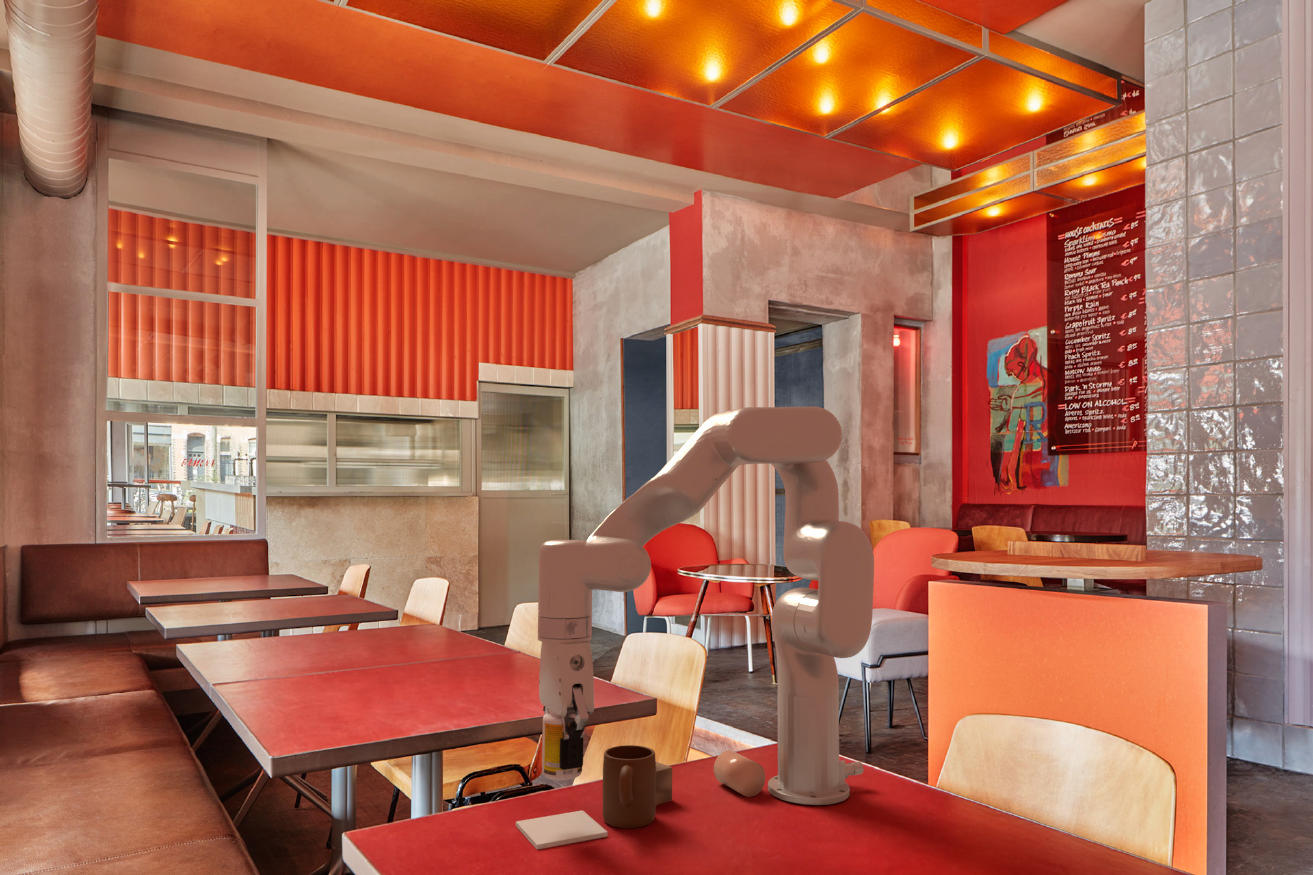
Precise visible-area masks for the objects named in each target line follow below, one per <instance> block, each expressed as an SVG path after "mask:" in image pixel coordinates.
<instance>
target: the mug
mask: <svg viewBox="0 0 1313 875" xmlns="http://www.w3.org/2000/svg"><path fill="white" fill-rule="evenodd" d="M656 762H657V761H656V753H655V751H654V749H653V748H650V747H647V746H642V745H633V744H630V745H629V744H627V745H625V744H624V745H617V746H613V747H609V748H607V749H605V751H604V753H603V761H602V818H603V820H604V821H605V823H606V824H607V825H609V826H611V827H614V828H615V827H616V828H618V829H637V828H643V827H646V826H648V825H651V823H653V822H654V820H655V818H656V806H657V805H656Z"/></svg>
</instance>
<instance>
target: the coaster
mask: <svg viewBox="0 0 1313 875" xmlns="http://www.w3.org/2000/svg"><path fill="white" fill-rule="evenodd" d="M515 827H516V828H517V829H518V830H519V831H520V832H521V834H522V835H523V836H524V837H525V838H526V839H527V840H528V841H529V843H531V845H532V846H533V847H534V848H535V849H536V850H541V849H542V850H543V849H547V848H552V847H558V846H564V845H569V844H574V843H580V842H586V841H591V840H596V839H602V838H607V837H608V831H607V830H606V828H604V827H602V825H600V824H599V823H598V822H597V821H595V819H593V817H591V816H590V815H589V814H588V813H586V812H585V811H584V810H576V811H572V812H564V813H560V814H552V815H547V816H541V817H535V818H529V819H522V820H517V821H515Z"/></svg>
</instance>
